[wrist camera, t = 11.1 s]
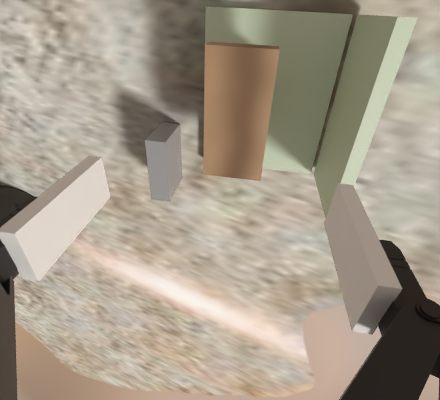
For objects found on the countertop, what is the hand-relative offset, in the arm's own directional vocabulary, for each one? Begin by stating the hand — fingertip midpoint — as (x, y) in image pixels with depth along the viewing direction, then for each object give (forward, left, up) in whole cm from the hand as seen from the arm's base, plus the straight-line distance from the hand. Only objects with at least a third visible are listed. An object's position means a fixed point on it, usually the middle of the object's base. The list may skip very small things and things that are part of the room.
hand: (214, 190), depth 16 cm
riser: (-9, -8, -21) cm, 24 cm away
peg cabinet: (+3, 0, -21) cm, 21 cm away
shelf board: (0, 0, -15) cm, 15 cm away
